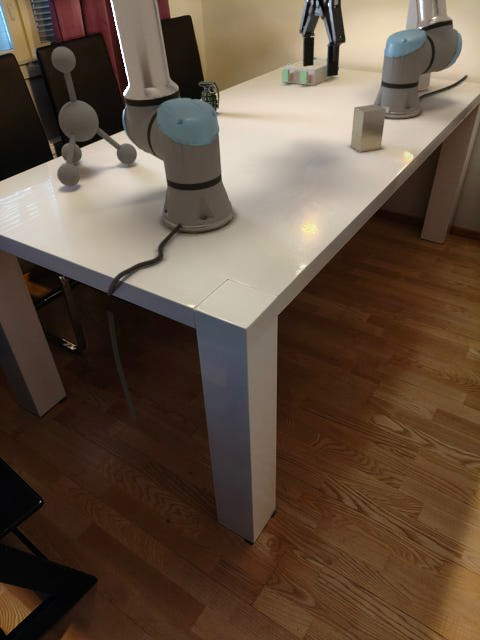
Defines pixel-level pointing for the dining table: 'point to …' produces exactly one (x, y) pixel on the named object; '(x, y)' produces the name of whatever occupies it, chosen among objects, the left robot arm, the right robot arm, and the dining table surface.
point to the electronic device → (412, 24)
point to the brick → (367, 127)
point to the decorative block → (306, 72)
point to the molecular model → (80, 124)
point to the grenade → (210, 94)
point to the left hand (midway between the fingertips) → (319, 70)
